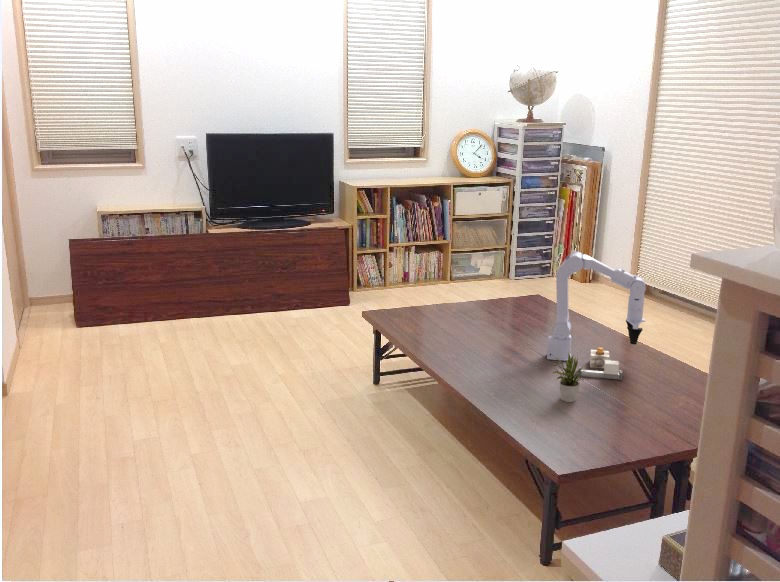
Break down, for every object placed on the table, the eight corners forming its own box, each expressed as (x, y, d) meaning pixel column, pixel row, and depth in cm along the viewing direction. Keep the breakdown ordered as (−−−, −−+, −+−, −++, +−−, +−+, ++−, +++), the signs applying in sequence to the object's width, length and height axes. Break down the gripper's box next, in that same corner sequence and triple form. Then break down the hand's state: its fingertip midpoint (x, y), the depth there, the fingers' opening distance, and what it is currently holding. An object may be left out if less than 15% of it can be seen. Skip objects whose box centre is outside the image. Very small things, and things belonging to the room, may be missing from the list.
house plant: (543, 389, 260) (545, 347, 255) (581, 389, 259) (584, 347, 255) (550, 405, 246) (552, 361, 242) (590, 406, 245) (593, 362, 241)
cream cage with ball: (590, 367, 280) (590, 355, 279) (589, 361, 287) (590, 349, 286) (608, 369, 279) (609, 357, 277) (607, 362, 286) (608, 350, 284)
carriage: (604, 377, 269) (605, 363, 267) (603, 374, 272) (604, 359, 271) (617, 379, 267) (619, 364, 266) (617, 375, 271) (618, 361, 270)
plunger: (596, 353, 281) (597, 349, 280) (596, 351, 283) (597, 347, 283) (603, 354, 280) (603, 349, 280) (603, 352, 283) (603, 347, 282)
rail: (578, 376, 272) (578, 369, 271) (578, 373, 274) (578, 366, 274) (621, 380, 268) (622, 372, 267) (621, 377, 270) (622, 370, 270)
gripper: (647, 314, 269) (644, 347, 273) (644, 303, 283) (641, 335, 286) (628, 312, 271) (625, 346, 275) (626, 302, 285) (623, 334, 288)
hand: (632, 341), depth 281 cm, fingers open, 7 cm apart
